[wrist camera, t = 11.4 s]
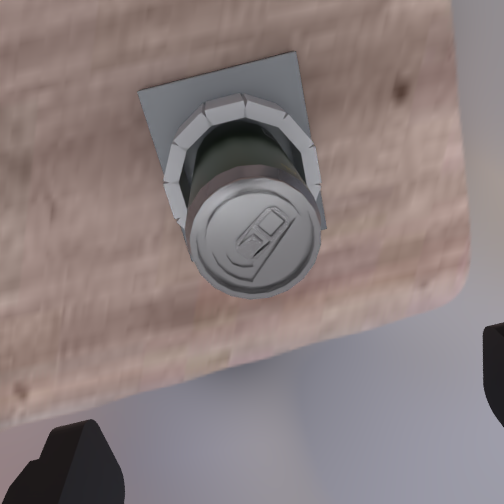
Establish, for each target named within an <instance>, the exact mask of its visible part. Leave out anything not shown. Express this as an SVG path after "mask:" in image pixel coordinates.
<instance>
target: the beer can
mask: <svg viewBox="0 0 504 504" xmlns="http://www.w3.org/2000/svg"><path fill="white" fill-rule="evenodd" d="M185 234H186V241H187V248H188V250H189V252H190V254H191V256H192V259H193V261H194V262H195V264H196V266H197V268H198V270H199V272H200V274H201V275H202V276H203V277H204V278H205V279H206V280H207V281H208V282H209V283H210V284H211V285H212V286H213V287H214V288H216V289H218V290H220V291H222V292H224V293H226V294H228V295H230V296H234V297H240V298H245V299H260V298H269V297H272V296H275V295H277V294H280V293H283V292H285V291H288V290H289V289H290V288H292V287H293V286H294V285H296V284H297V283H298V282H300V281H301V280H302V279H304V277H305V276H306V274H307V273H308V272H309V270H310V269H311V268H312V266H313V265H314V264H315V261H316V258H317V255H318V252H319V249H320V246H321V215H320V212H319V209H318V207H317V204H316V201H315V198H314V196H313V195H312V193H311V192H310V190H309V188H308V187H307V185H306V184H305V182H304V181H303V179H302V178H301V176H300V175H299V173H298V172H297V170H296V169H295V167H294V166H293V164H292V163H291V161H290V160H289V158H288V157H287V155H286V154H285V152H284V151H283V149H282V147H281V146H280V144H279V143H278V142H277V141H276V139H275V138H274V137H273V136H272V134H271V133H270V132H269V131H267V130H265V129H264V128H262V127H261V126H259V125H257V124H253V123H249V122H245V121H239V122H228V123H226V124H224V125H221V126H219V127H217V128H215V129H214V130H213V131H211V132H210V133H209V134H208V135H207V136H206V137H205V138H204V139H203V141H202V143H201V145H200V146H199V148H198V150H197V154H196V159H195V164H194V170H193V177H192V183H191V190H190V197H189V203H188V210H187V216H186V223H185Z"/></svg>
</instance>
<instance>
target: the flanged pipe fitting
mask: <svg viewBox="0 0 504 504" xmlns="http://www.w3.org/2000/svg"><path fill="white" fill-rule="evenodd" d="M137 93H138V96H139V99H140V102H141V105H142V108H143V111H144V114H145V118H146V121H147V124H148V127H149V130H150V133H151V136H152V139H153V142H154V145H155V149H156V152H157V155H158V158H159V161H160V164H161V167H162V170H163V173H164V179H163V181H164V184H163V185H164V188H165V191H166V194H167V197H168V201H169V204H170V207H171V210H172V213H173V216H174V219H177V223H178V224H179V225H180V226H181V229H182V232H183V236H184V239H185V242H186V245H187V241H186V234H185V223H186V216H187V210H188V203H189V197H190V190H191V183H192V177H193V170H194V164H195V159H196V154H197V150H198V148H199V146H200V145H201V143H202V141H203V139H204V138H205V137H206V136H207V135H208V134H209V133H210V132H211V131H213V130H214V129H215V128H217V127H219V126H221V125H224V124H226V123H228V122H239V121H245V122H249V123H253V124H257V125H259V126H261V127H262V128H264V129H265V130H267V131H269V132H270V133H271V134H272V136H273V137H274V138H275V139H276V141H277V142H278V143H279V144H280V146H281V147H282V149H283V151H284V152H285V154H286V155H287V157H288V158H289V160H290V161H291V163H292V164H293V166H294V167H295V169H296V170H297V172H298V173H299V175H300V176H301V178H302V179H303V181H304V182H305V184H306V185H307V187H308V188H309V190H310V192H311V193H312V195H313V196H314V198H315V201H316V204H317V207H318V209H319V212H320V215H321V230H324V229H327V227H326V221H325V215H324V209H323V204H322V198H321V192H320V188H321V185H320V184H319V183H322V182H321V176H320V170H319V165H318V159H317V153H316V147H315V146H314V145H313V144H314V143H313V142H312V140H311V135H310V129H309V123H308V117H307V112H306V106H305V100H304V94H303V89H302V83H301V77H300V71H299V66H298V60H297V54H296V51H291V52H287V53H283V54H279V55H275V56H271V57H268V58H264V59H260V60H256V61H252V62H248V63H244V64H240V65H236V66H232V67H228V68H224V69H220V70H217V71H213V72H209V73H205V74H201V75H197V76H193V77H189V78H185V79H181V80H177V81H173V82H169V83H166V84H162V85H158V86H154V87H150V88H146V89H142V90H139V91H138V92H137ZM188 251H189V250H188ZM189 254H190V252H189ZM190 257H191V260H192V262H193V259H192V256H191V254H190Z"/></svg>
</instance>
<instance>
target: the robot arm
mask: <svg viewBox="0 0 504 504" xmlns="http://www.w3.org/2000/svg"><path fill="white" fill-rule="evenodd" d="M483 385H484V391H485V395H486V398H487V401H488V403H489V405H490V408H491V409H492V411H493V413H494V415H495V416H496V417H497V419H498V420H499V422H500V423H501V424H502V426H503V427H504V322H503V323H499V324H495V325H491V326H487V327H485V329H484V331H483ZM124 499H125V486H124V479H123V474H122V471H121V468H120V466H119V464H118V463H117V460H116V459H115V456H114V455H113V452H112V451H111V449H110V447H109V445H108V443H107V441H106V439H105V437H104V435H103V433H102V431H101V429H100V427H99V426H98V424H97V423H96V421H94V420H92V419H90V420H86V421H81V422H77V423H73V424H69V425H65V426H60V427H56V428H54V429H53V430H52V431H51V432H50V434H49V436H48V438H47V441H46V444H45V446H44V448H43V450H42V453H41V455H40V458H39V459H37V460H33V461H30V462H29V463H28V464H27V466H26V467H25V468H24V469H23V471H22V472H21V473H20V474H19V476H18V477H17V478H16V479H15V481H14V482H13V483H12V484H11V486H10V487H9V489H8V491H7V493H6V495H5V498H4V500H3V502H2V504H124Z"/></svg>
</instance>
